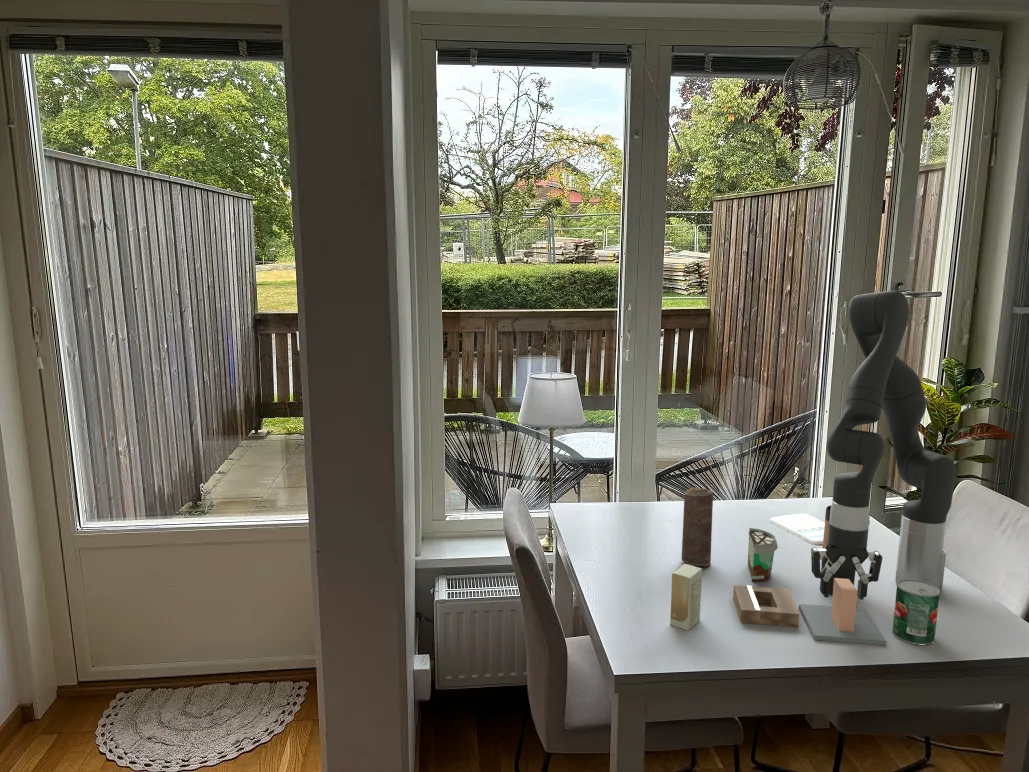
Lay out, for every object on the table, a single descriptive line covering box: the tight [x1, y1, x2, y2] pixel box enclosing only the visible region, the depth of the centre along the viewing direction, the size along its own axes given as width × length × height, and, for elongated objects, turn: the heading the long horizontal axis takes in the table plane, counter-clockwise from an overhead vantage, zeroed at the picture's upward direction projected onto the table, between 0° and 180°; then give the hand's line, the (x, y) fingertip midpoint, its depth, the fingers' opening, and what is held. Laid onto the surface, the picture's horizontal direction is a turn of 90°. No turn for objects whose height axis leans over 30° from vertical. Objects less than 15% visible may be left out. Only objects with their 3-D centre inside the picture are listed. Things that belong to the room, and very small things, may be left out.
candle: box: [681, 487, 714, 567], centre depth 186 cm, size 8×7×20 cm
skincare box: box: [669, 563, 703, 631], centre depth 156 cm, size 6×4×12 cm
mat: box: [798, 603, 887, 646], centre depth 156 cm, size 14×14×1 cm
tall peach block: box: [831, 578, 858, 632], centre depth 154 cm, size 3×6×9 cm, turn 171°
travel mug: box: [820, 504, 857, 596], centre depth 172 cm, size 8×8×20 cm
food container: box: [747, 527, 779, 583], centre depth 181 cm, size 12×6×10 cm, turn 168°
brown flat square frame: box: [732, 584, 800, 628], centre depth 162 cm, size 12×12×3 cm
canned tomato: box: [891, 579, 941, 645], centre depth 151 cm, size 8×8×11 cm
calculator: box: [769, 512, 825, 546], centre depth 212 cm, size 13×20×2 cm, turn 18°
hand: (842, 596), depth 155 cm, fingers open, 6 cm apart
